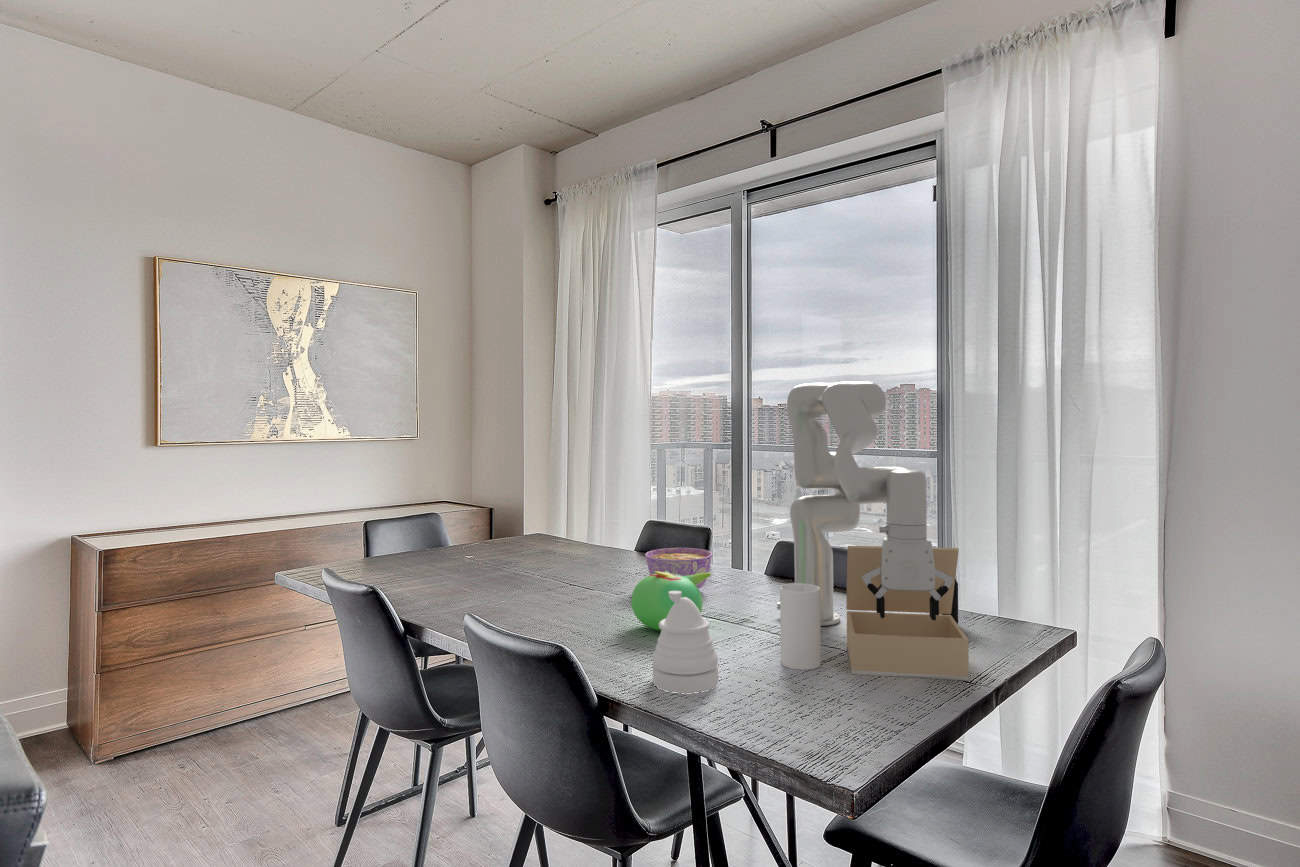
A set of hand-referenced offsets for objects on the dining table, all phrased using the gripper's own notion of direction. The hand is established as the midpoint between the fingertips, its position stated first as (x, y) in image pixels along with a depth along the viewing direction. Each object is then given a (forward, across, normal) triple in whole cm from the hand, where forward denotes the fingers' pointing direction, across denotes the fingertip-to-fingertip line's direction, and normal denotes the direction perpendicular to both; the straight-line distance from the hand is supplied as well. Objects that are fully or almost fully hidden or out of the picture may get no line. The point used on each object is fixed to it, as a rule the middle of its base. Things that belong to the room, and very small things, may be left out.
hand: (907, 617), depth 147 cm
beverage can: (+12, +13, +37) cm, 41 cm away
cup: (+12, -21, +3) cm, 24 cm away
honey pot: (+12, -43, -12) cm, 46 cm away
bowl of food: (+12, -57, +61) cm, 84 cm away
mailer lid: (-5, 0, +11) cm, 12 cm away
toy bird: (+12, -53, +23) cm, 59 cm away
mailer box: (+11, 0, +7) cm, 13 cm away
